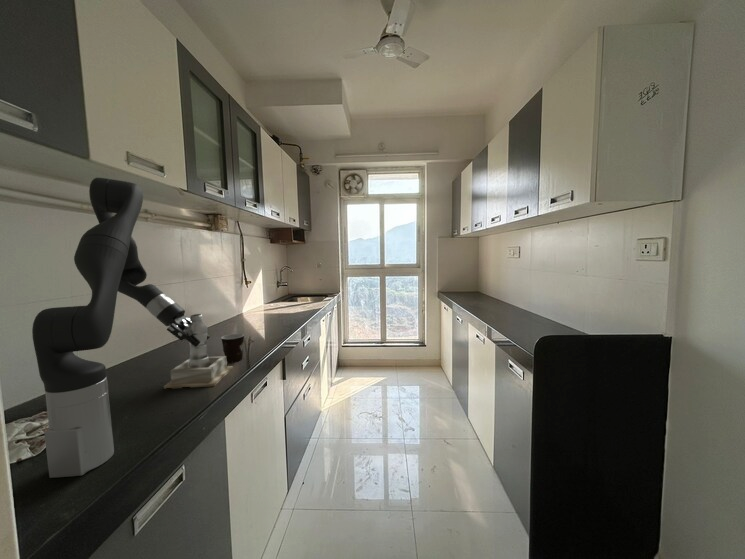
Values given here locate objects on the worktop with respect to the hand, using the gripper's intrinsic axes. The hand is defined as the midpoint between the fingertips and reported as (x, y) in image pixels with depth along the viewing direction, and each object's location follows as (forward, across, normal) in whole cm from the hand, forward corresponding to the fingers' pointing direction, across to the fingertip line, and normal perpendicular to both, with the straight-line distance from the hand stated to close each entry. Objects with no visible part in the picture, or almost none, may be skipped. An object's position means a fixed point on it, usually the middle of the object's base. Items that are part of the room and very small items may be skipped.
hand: (203, 341), depth 107 cm
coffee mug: (+11, +17, +8) cm, 22 cm away
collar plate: (+8, 0, +10) cm, 13 cm away
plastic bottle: (+6, 0, +9) cm, 11 cm away
